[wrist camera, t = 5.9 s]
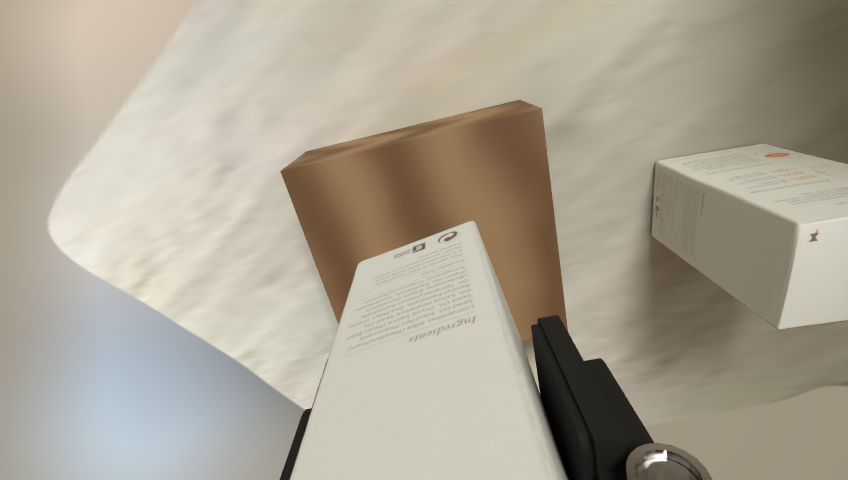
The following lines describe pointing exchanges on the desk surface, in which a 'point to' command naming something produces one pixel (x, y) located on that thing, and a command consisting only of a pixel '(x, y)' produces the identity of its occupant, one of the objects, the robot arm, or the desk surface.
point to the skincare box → (428, 376)
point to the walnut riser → (438, 201)
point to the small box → (761, 228)
